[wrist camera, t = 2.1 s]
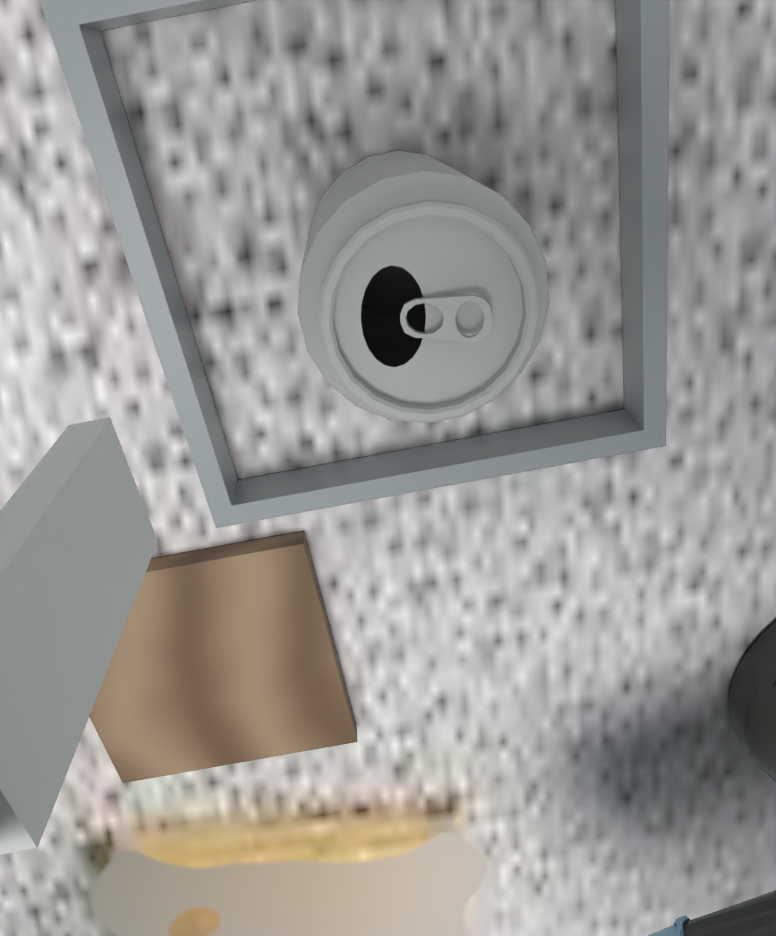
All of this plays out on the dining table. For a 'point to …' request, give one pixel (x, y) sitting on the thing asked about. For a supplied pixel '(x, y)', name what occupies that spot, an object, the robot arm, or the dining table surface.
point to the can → (419, 289)
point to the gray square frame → (546, 445)
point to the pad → (223, 663)
